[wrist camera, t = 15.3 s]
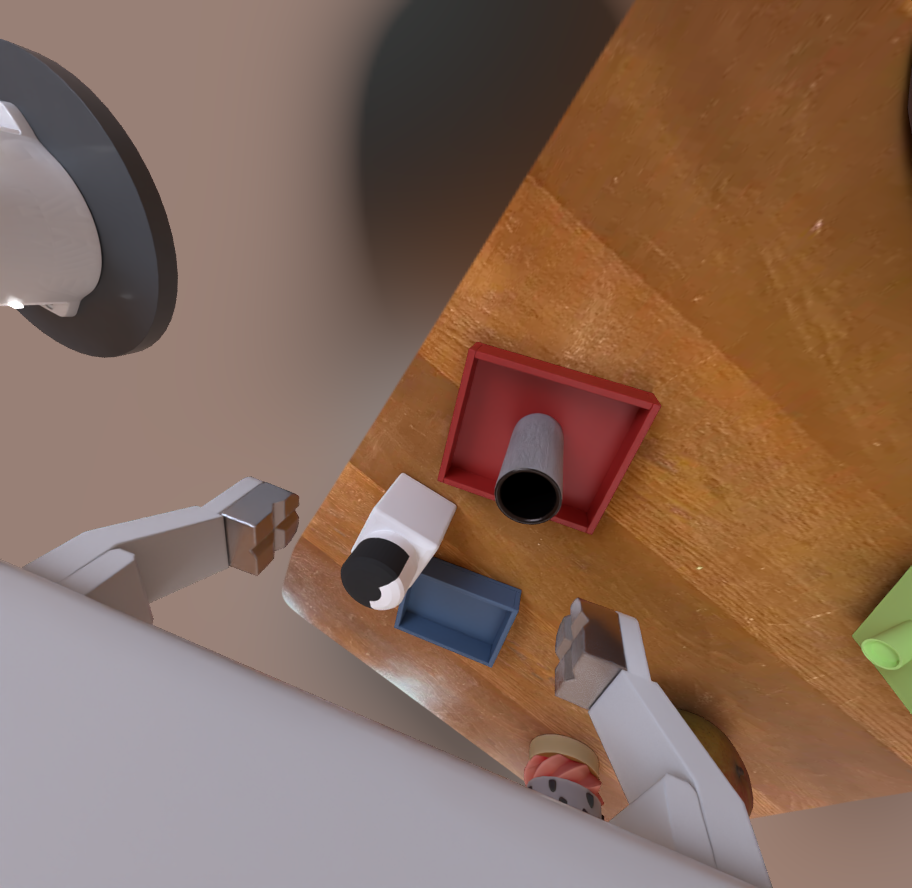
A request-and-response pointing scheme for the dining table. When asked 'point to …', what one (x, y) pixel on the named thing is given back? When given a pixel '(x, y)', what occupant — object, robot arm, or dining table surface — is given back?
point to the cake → (565, 772)
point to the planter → (532, 471)
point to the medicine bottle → (396, 543)
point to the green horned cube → (891, 638)
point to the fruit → (722, 755)
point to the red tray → (567, 401)
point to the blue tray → (459, 610)
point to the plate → (910, 102)
